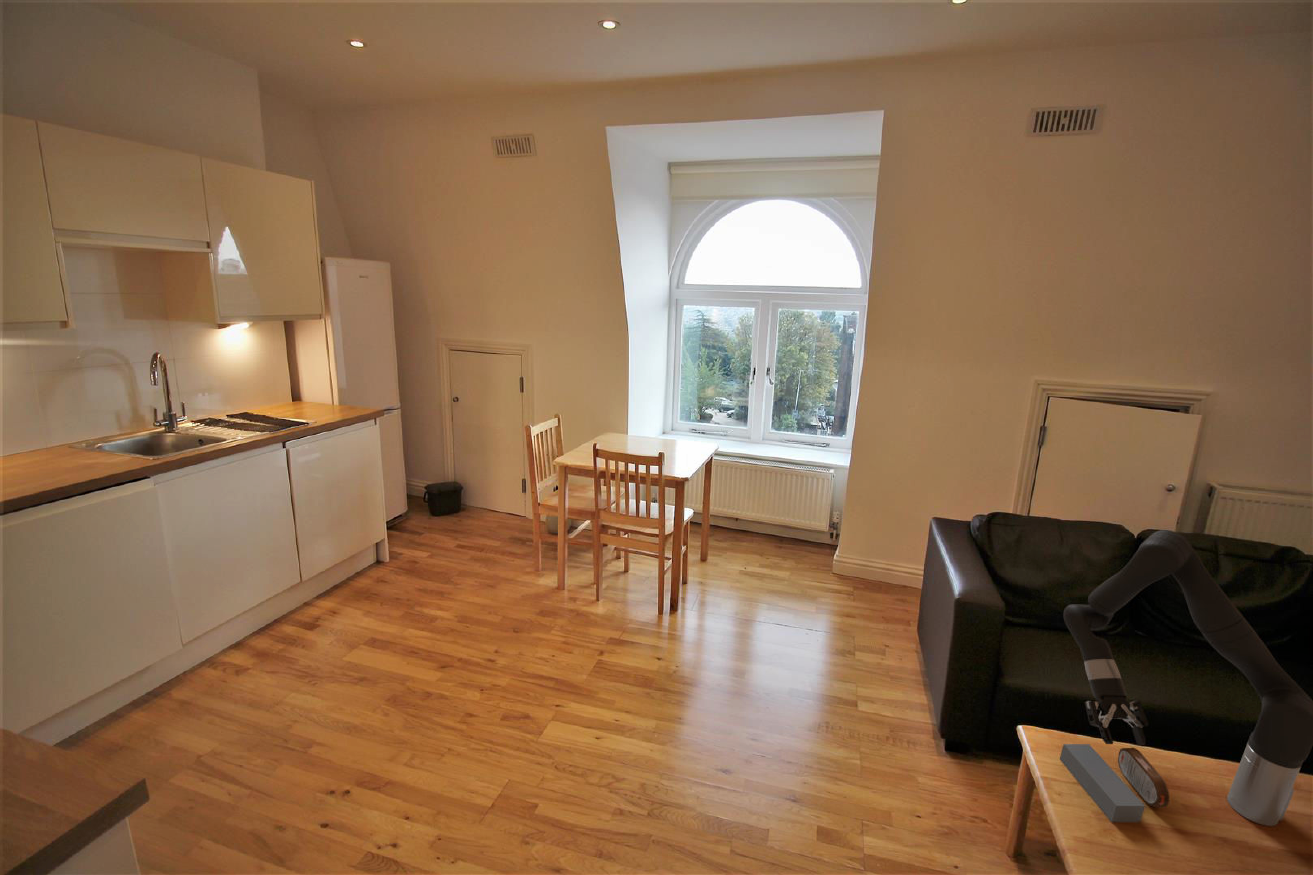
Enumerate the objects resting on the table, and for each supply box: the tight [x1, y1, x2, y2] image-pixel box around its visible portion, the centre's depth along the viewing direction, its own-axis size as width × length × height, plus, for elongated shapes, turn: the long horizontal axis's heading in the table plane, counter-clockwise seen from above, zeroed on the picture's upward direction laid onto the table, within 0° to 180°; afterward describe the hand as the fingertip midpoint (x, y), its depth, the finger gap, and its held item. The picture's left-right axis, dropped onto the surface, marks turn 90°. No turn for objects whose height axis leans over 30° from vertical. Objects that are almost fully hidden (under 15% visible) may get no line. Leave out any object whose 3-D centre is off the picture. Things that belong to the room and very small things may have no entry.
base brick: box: [1059, 743, 1146, 823], centre depth 154 cm, size 7×19×5 cm, turn 1°
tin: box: [1117, 747, 1170, 808], centre depth 154 cm, size 15×3×8 cm, turn 176°
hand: (1125, 744), depth 159 cm, fingers open, 8 cm apart
